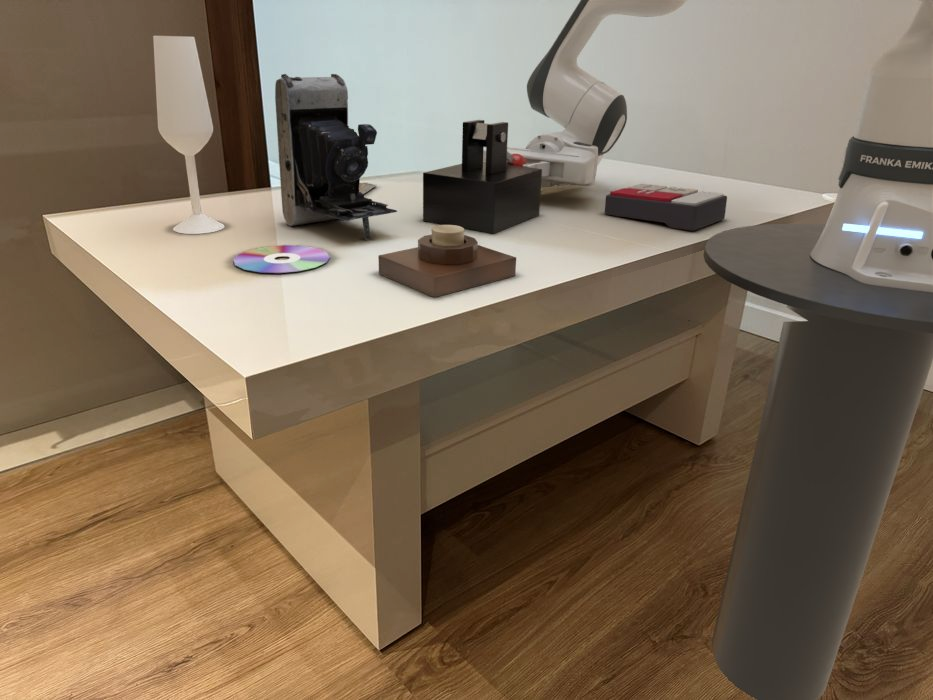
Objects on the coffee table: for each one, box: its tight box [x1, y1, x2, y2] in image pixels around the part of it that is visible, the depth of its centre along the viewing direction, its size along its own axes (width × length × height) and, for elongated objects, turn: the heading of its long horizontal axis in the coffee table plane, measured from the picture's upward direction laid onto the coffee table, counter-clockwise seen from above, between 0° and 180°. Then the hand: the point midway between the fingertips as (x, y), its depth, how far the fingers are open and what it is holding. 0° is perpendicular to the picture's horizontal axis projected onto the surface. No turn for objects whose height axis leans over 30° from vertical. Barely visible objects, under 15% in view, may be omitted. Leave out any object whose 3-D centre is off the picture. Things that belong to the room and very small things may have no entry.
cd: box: [232, 244, 331, 274], centre depth 84 cm, size 11×11×1 cm
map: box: [359, 182, 377, 195], centre depth 117 cm, size 5×20×1 cm, turn 169°
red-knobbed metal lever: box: [472, 122, 526, 167], centre depth 106 cm, size 14×4×4 cm, turn 147°
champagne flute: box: [152, 35, 225, 235], centre depth 92 cm, size 7×7×24 cm
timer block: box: [377, 233, 517, 298], centre depth 79 cm, size 12×10×4 cm
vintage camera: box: [274, 73, 398, 241], centre depth 93 cm, size 10×15×20 cm, turn 42°
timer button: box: [431, 224, 465, 246], centre depth 78 cm, size 4×4×2 cm
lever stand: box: [422, 119, 542, 235], centre depth 103 cm, size 14×12×14 cm
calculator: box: [604, 183, 728, 232], centre depth 108 cm, size 11×4×15 cm
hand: (512, 168), depth 110 cm, fingers closed on red-knobbed metal lever, 3 cm apart
